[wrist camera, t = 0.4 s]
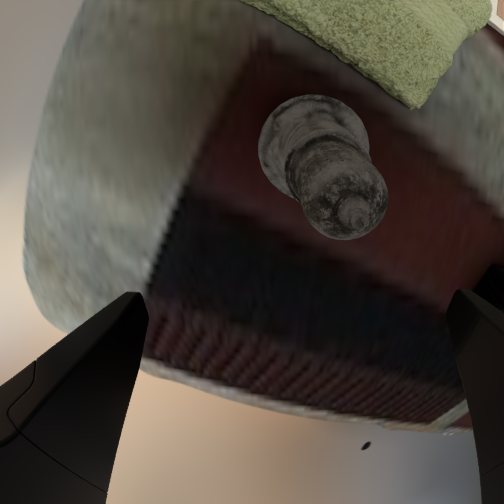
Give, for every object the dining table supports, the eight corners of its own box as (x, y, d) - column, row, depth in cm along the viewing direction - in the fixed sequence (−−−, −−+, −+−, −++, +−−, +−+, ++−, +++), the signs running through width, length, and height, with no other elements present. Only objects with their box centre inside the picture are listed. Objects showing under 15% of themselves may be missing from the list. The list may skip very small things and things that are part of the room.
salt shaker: (265, 84, 16) (264, 92, 6) (359, 102, 16) (478, 149, 6) (254, 174, 19) (239, 299, 9) (341, 187, 19) (410, 314, 9)
